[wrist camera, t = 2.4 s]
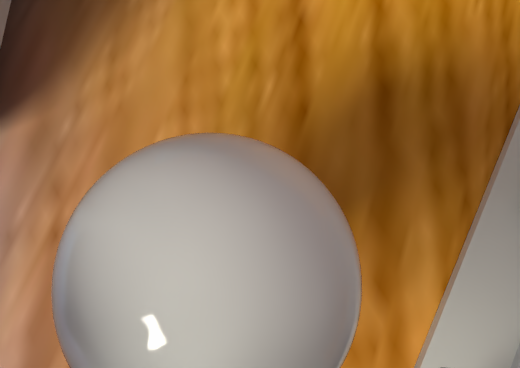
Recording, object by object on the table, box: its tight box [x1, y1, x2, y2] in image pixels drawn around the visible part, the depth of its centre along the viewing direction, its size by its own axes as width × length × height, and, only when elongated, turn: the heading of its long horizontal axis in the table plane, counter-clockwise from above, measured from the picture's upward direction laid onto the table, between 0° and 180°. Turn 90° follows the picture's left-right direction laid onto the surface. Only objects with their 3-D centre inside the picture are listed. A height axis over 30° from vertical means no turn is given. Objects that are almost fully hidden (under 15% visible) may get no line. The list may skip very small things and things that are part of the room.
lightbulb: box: [51, 133, 362, 368], centre depth 13 cm, size 6×6×11 cm
